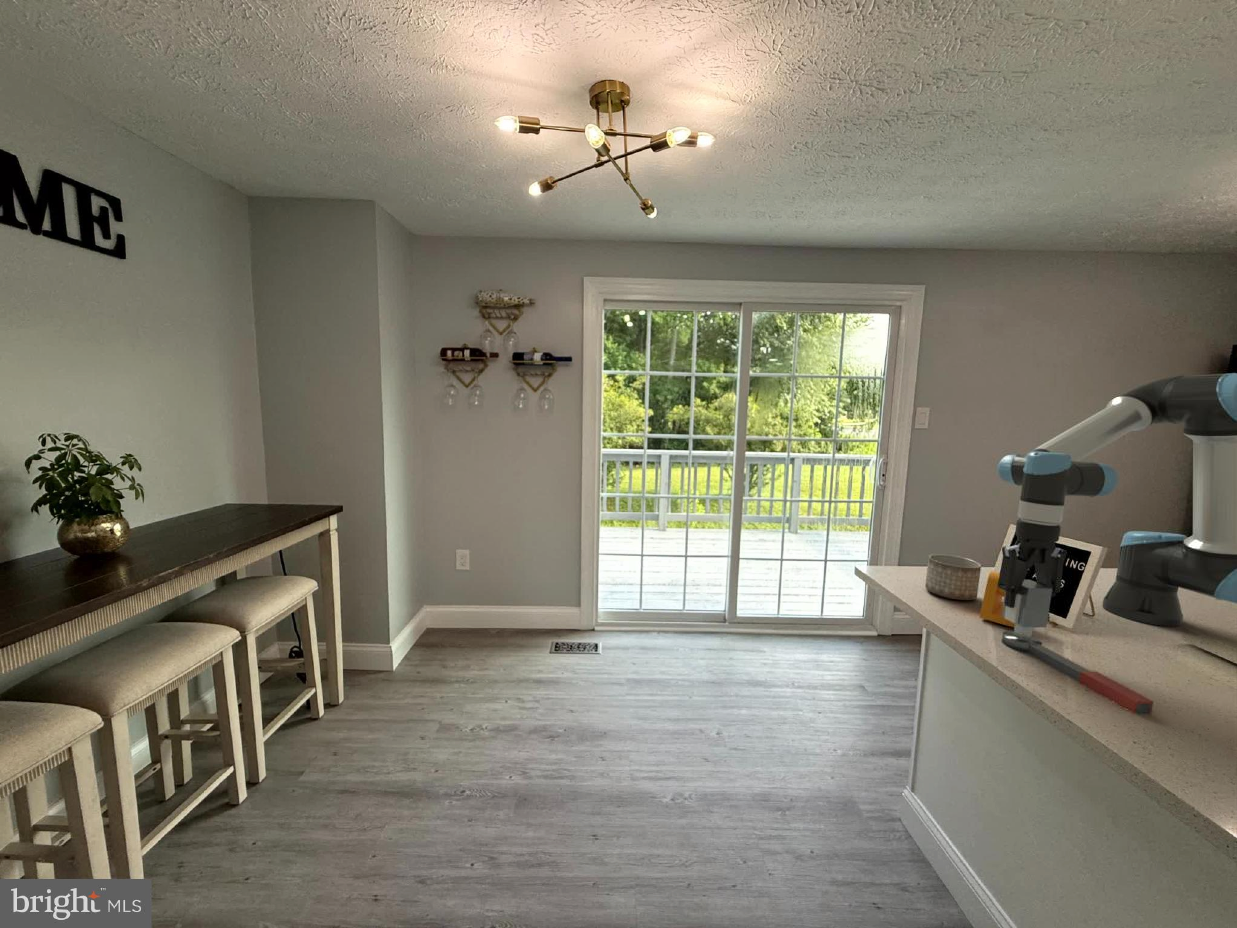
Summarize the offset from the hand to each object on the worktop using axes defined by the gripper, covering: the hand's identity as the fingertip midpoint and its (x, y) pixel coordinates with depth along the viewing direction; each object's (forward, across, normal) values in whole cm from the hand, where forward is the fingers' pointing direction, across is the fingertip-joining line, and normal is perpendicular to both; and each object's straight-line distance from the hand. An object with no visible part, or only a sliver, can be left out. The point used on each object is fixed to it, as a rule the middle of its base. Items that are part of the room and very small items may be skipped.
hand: (1023, 620), depth 113 cm
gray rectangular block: (0, 0, 0) cm, 0 cm away
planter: (+6, -7, -31) cm, 32 cm away
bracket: (+6, -8, -14) cm, 17 cm away
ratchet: (+6, 0, +11) cm, 12 cm away
